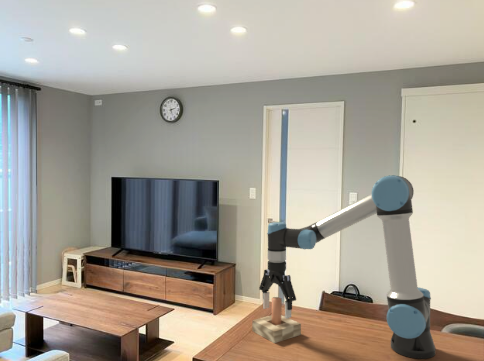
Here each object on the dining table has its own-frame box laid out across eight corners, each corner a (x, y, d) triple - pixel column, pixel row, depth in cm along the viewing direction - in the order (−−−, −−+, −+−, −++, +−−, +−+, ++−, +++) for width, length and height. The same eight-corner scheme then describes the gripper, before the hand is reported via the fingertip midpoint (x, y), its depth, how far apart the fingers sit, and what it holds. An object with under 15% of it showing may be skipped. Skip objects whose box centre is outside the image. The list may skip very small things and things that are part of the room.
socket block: (300, 334, 154) (300, 323, 154) (274, 343, 146) (274, 331, 145) (278, 323, 165) (278, 313, 165) (252, 331, 157) (252, 320, 157)
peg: (283, 333, 155) (283, 299, 155) (275, 335, 152) (276, 300, 152) (276, 330, 158) (277, 296, 158) (269, 332, 156) (269, 298, 156)
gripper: (305, 265, 147) (305, 319, 147) (264, 254, 167) (264, 302, 167) (290, 267, 143) (290, 324, 143) (251, 256, 163) (251, 306, 163)
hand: (276, 312), depth 155 cm, fingers open, 13 cm apart
